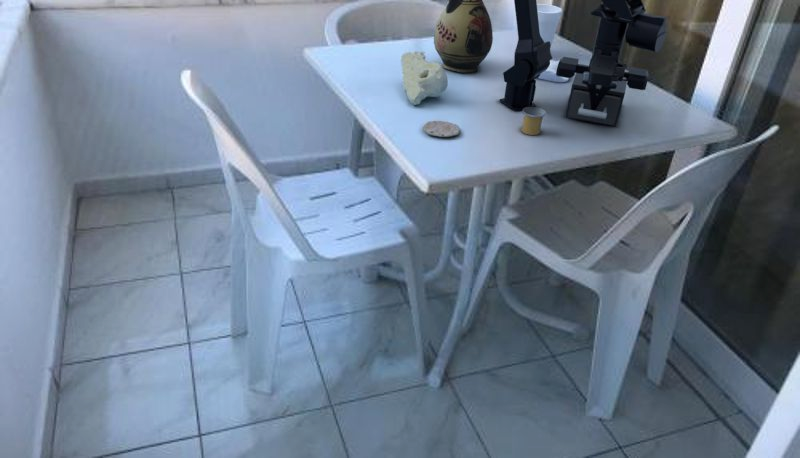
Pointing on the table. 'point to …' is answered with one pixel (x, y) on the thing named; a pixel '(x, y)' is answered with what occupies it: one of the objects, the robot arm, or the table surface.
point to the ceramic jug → (463, 35)
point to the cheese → (422, 77)
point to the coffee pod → (532, 120)
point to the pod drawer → (603, 112)
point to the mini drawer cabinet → (579, 85)
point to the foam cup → (548, 21)
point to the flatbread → (441, 128)
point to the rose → (552, 73)
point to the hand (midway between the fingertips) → (593, 109)
